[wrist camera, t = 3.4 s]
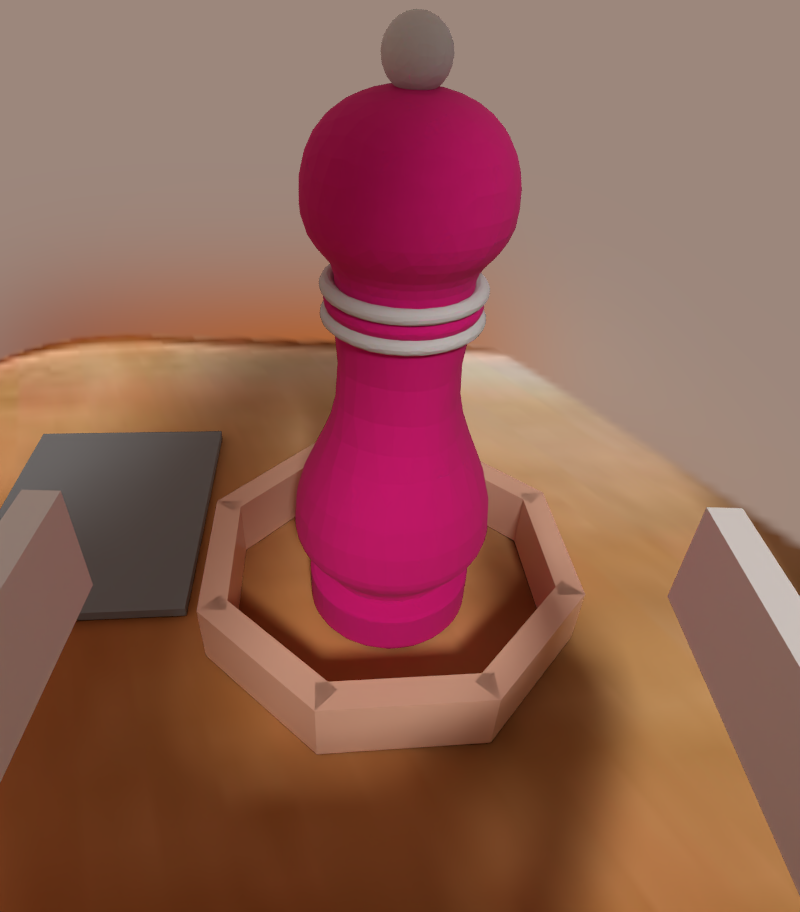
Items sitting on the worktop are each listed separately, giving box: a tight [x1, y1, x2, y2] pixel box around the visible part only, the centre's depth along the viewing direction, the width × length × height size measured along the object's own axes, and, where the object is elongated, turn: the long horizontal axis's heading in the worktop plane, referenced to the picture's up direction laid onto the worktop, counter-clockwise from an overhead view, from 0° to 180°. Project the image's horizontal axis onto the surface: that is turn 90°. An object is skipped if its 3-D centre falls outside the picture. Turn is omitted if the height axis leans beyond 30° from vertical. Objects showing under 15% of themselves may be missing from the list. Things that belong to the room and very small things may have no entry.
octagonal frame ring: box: [197, 442, 585, 754], centre depth 27 cm, size 14×14×2 cm
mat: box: [0, 431, 222, 620], centre depth 30 cm, size 9×12×1 cm
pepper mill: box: [295, 9, 522, 649], centre depth 21 cm, size 7×7×20 cm
